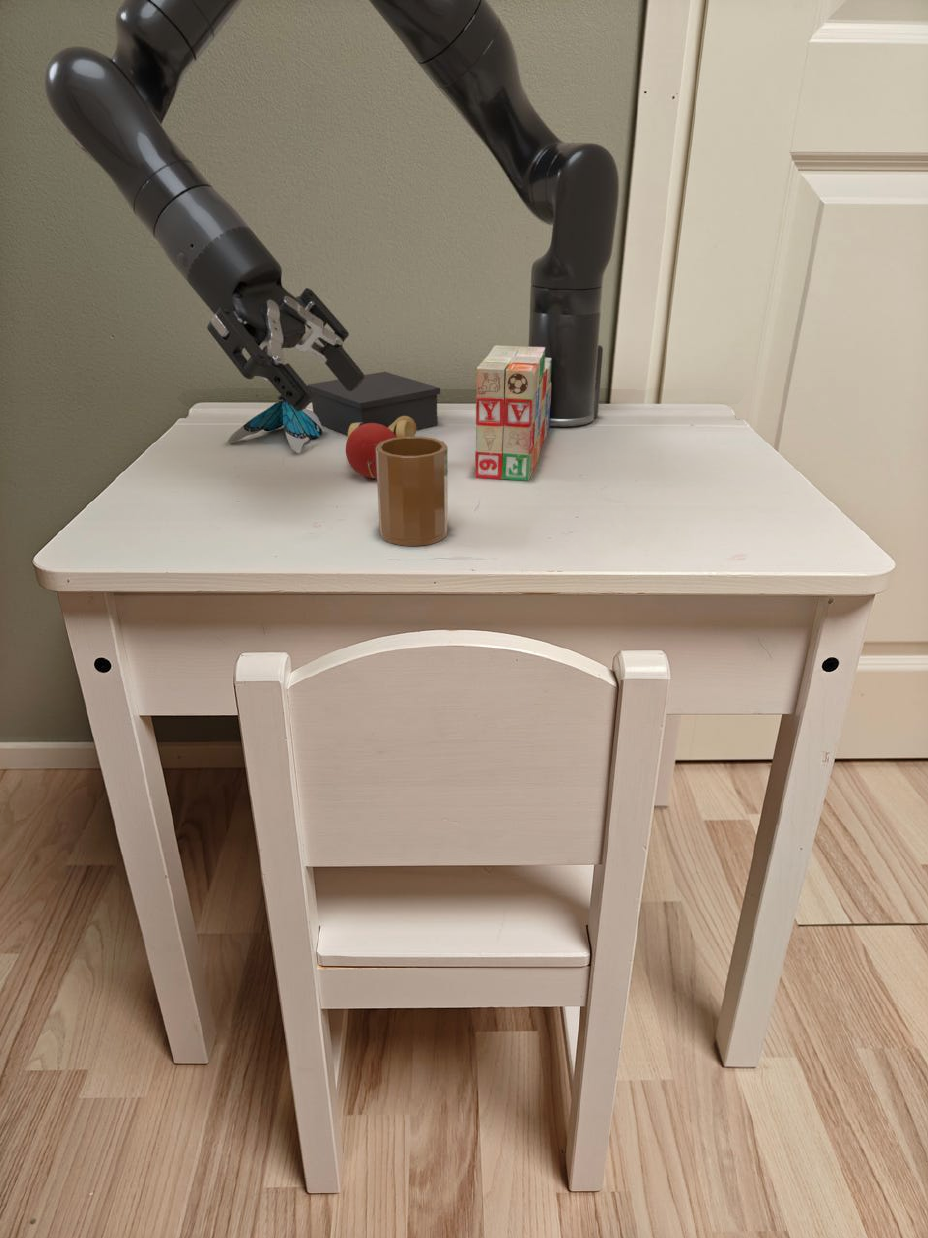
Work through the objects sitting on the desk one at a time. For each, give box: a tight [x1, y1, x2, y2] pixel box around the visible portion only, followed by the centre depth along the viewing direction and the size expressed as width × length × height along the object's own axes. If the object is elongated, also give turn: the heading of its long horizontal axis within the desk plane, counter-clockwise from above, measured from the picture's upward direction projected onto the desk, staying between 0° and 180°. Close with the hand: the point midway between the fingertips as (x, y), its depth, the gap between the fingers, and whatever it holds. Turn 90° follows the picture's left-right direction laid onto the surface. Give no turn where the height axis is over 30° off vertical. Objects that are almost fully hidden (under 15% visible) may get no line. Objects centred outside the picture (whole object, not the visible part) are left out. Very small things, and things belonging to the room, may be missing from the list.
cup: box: [376, 436, 449, 547], centre depth 80 cm, size 6×6×8 cm
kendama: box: [345, 416, 417, 480], centre depth 101 cm, size 8×6×18 cm
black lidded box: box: [307, 371, 441, 436], centre depth 115 cm, size 13×13×5 cm
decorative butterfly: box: [227, 394, 323, 454], centre depth 109 cm, size 10×6×10 cm
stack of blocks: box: [474, 345, 552, 482], centre depth 102 cm, size 21×6×12 cm, turn 169°
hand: (333, 394), depth 80 cm, fingers open, 8 cm apart
